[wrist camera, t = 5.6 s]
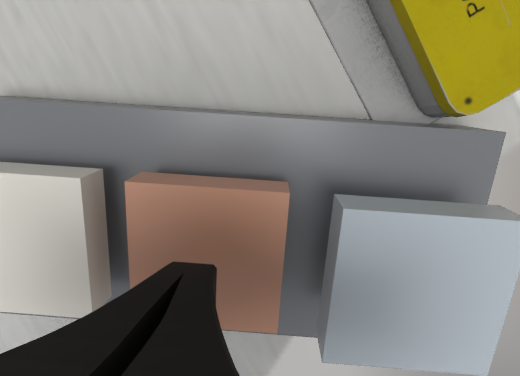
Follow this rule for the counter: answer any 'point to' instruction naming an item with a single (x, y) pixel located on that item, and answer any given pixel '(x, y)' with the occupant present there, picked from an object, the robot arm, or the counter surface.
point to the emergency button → (425, 54)
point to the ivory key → (53, 240)
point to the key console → (254, 168)
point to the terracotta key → (213, 238)
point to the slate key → (417, 283)
